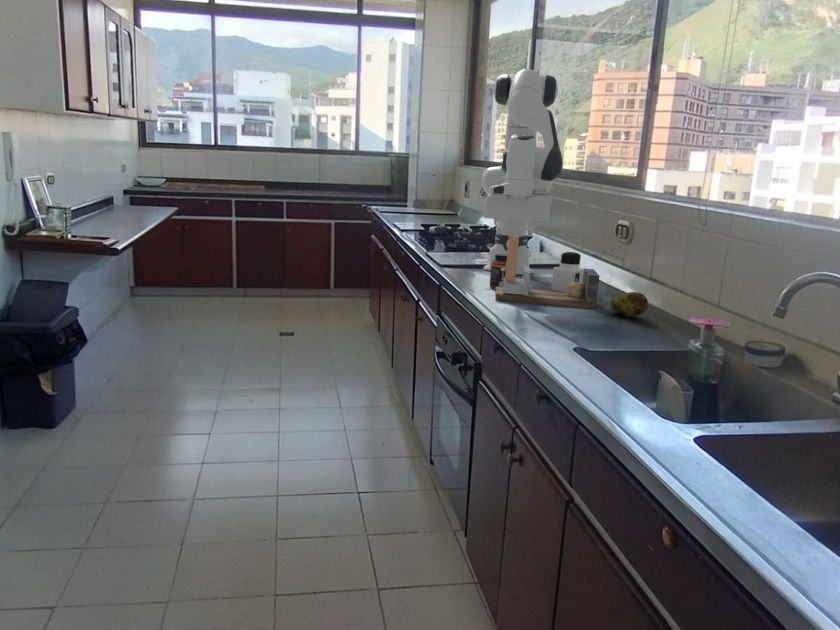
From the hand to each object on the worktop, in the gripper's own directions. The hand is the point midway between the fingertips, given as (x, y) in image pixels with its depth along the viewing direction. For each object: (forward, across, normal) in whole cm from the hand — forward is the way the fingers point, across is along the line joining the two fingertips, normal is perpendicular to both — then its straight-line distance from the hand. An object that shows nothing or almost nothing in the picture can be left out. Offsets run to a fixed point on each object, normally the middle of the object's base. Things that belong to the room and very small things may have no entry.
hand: (514, 235), depth 206 cm
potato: (+20, -34, +14) cm, 42 cm away
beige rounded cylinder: (+18, -20, 0) cm, 27 cm away
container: (+19, -20, -20) cm, 34 cm away
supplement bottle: (+20, +3, -14) cm, 24 cm away
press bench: (+20, -11, 0) cm, 22 cm away
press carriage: (+17, -2, 0) cm, 17 cm away
